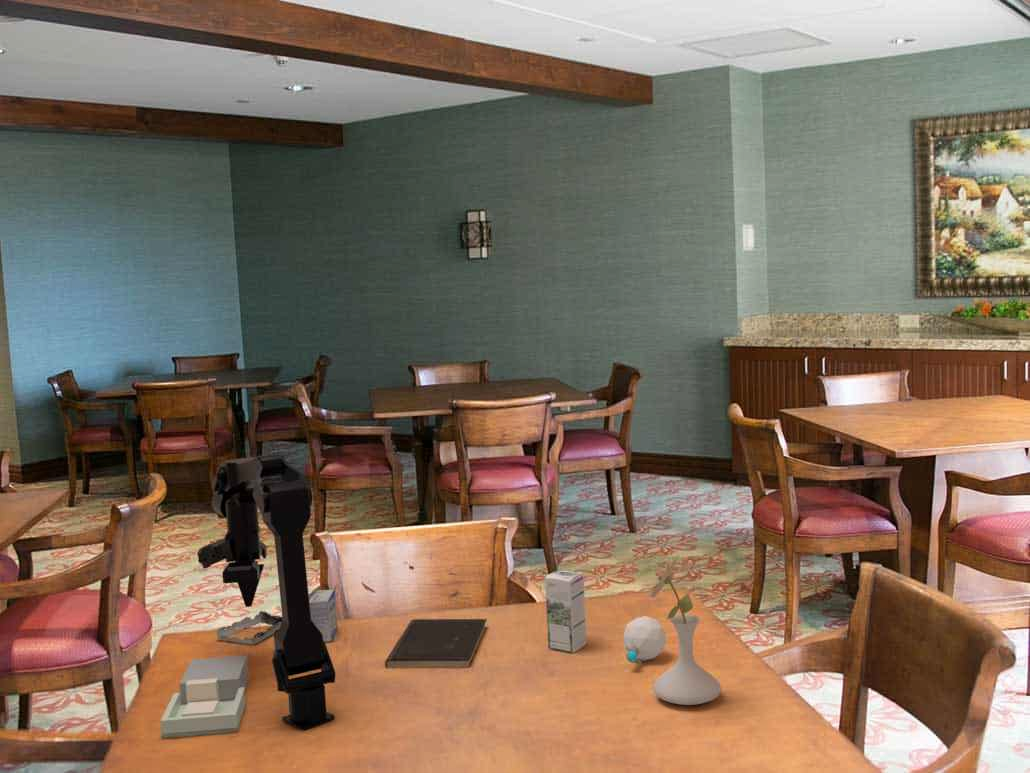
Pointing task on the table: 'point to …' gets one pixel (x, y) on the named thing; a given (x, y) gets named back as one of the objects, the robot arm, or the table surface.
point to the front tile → (201, 708)
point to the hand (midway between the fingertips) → (248, 606)
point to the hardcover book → (437, 643)
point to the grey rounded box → (218, 675)
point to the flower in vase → (683, 656)
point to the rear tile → (202, 690)
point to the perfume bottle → (643, 639)
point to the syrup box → (565, 611)
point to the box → (202, 718)
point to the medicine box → (324, 613)
